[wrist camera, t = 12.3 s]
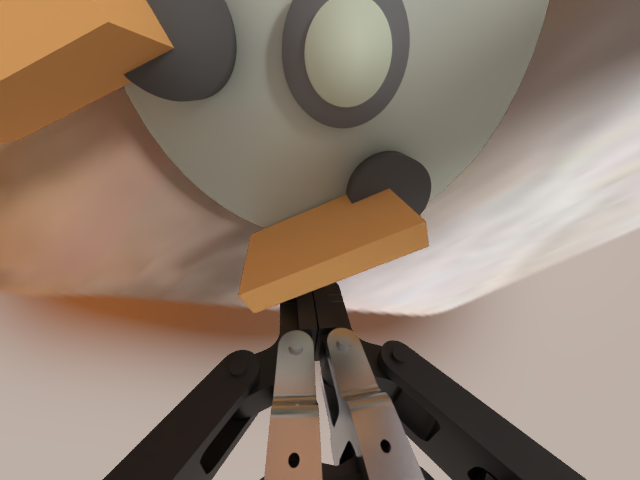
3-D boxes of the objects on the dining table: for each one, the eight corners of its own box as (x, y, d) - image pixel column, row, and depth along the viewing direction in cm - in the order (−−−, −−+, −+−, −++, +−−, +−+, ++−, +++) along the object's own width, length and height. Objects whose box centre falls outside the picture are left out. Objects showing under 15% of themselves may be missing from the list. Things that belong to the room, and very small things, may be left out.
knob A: (186, -88, 7) (59, -324, 3) (257, 73, 9) (239, 61, 5) (-68, 60, 7) (-424, 29, 4) (55, 172, 10) (-89, 224, 6)
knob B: (413, 137, 11) (482, 161, 7) (422, 206, 13) (479, 253, 9) (236, 213, 12) (215, 271, 8) (273, 267, 14) (270, 331, 10)
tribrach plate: (611, -213, 8) (774, -362, 5) (429, 225, 17) (456, 249, 14) (-8, -504, 5) (-346, -1198, 2) (177, 218, 14) (153, 248, 11)
